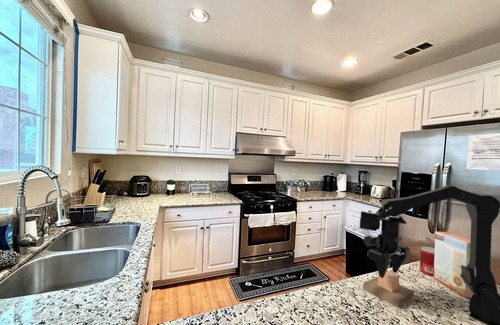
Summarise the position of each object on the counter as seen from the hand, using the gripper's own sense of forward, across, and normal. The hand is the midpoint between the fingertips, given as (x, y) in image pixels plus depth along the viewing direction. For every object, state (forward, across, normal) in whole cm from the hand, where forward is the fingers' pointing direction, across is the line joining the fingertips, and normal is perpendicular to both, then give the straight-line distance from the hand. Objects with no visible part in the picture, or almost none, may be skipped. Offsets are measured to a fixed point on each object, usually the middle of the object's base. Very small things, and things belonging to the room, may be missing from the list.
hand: (388, 274), depth 79 cm
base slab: (+8, 0, 0) cm, 8 cm away
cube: (+4, 0, 0) cm, 5 cm away
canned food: (+7, -37, 0) cm, 38 cm away
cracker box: (+7, -31, +10) cm, 33 cm away
